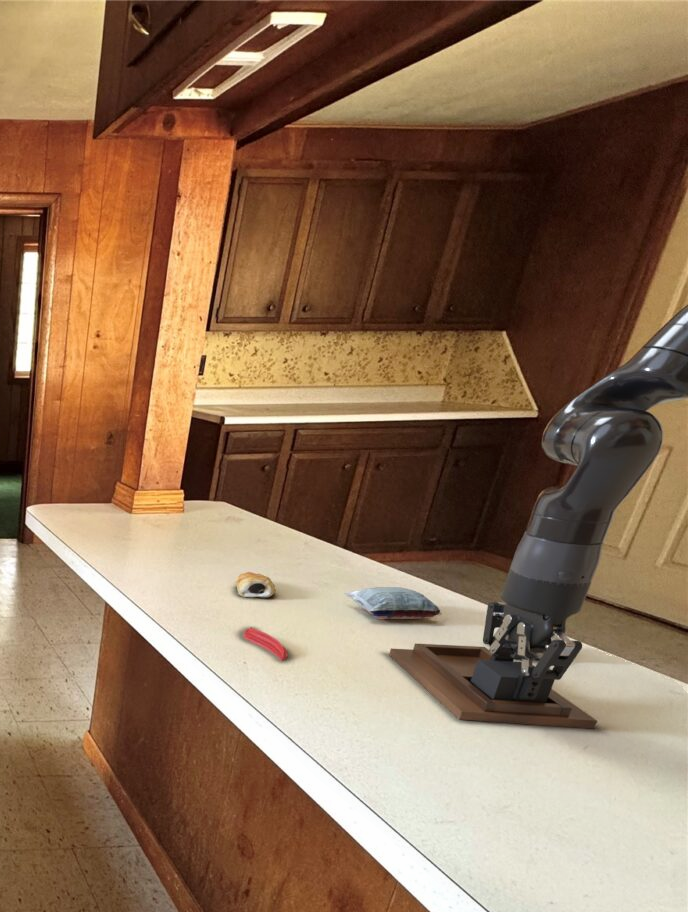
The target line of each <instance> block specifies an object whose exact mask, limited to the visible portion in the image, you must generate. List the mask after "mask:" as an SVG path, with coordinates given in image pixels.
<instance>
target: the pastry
mask: <svg viewBox="0 0 688 912" xmlns="http://www.w3.org/2000/svg"><path fill="white" fill-rule="evenodd" d="M235 586H236V587H237V589H236V591H237V594H238V595H239V596H241V597H243V598H270V597H272V596H273V595H274V594H275V592H276V585H275V584H274V582H273V581H272V580H271V578H270V577H269V576H266V575H264V574H261V573H255V572H251V571H248V572H243V573H240V574H239V576H238V577H237V579H236V580H235Z"/></svg>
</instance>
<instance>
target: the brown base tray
mask: <svg viewBox="0 0 688 912" xmlns="http://www.w3.org/2000/svg"><path fill="white" fill-rule="evenodd" d="M388 656H389V657H390V658H391V659H393V660H394V662H396V663H397V664H398V665H399V666H400V667H401V668H402V669H404V670H405V671H406V673H408V674H409V675H410V676H411V677H412V678H413V679H414V680H415V681H417V682H418V683H419V684H420V685H421V687H423V688H424V689H425V690H426V691H428V692H429V693H430V695H432V696H433V697H434V698H435V699H436V700H437V701H438V702H439V703H441V705H443V706H444V708H446V709H447V710H448V711H449V712H450V713H451V714H453V715H454V716H455V717H456V718H457V719H458V720H462V721H474V722H475V721H476V722H477V721H478V722H491V723H504V724H520V725H533V726H534V725H535V726H549V727H562V728H577V729H593V730H594V729H595V728H596V726H597V724H598V720H597V719H596V718H595V717H593V716H592V715H590V714H589V713H587V712H586V711H584V710H583V709H581V708H580V707H579V706H577V705H576V704H574V703H573V702H571V701H570V700H569V699H567V698H566V697H564V696H562V695H561V694H560V693H559V692H557V691H555V690H554V689H552V688H551V691H550V694H549V696H548V699H547V701H546V703H536V702H520V701H504V700H493V699H491V698H490V697H489V696H488V695H486V694H485V693H484V692H483V691H481V690H480V689H479V688H478V687H476V686H475V685H474V684H473V683H471V679H472V676H473V673H474V670H475V667H476V664H477V661H478V660H490V659H491V656H492V654H491V653H490V651H489V649H488V648H487V647H486V646H475V645H453V644H452V645H451V644H435V643H414V645H413V649H411V648H407V649H406V648H390V651H389V654H388Z"/></svg>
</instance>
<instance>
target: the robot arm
mask: <svg viewBox="0 0 688 912" xmlns="http://www.w3.org/2000/svg"><path fill="white" fill-rule="evenodd" d="M687 399H688V304H686V305H685V306H684V307H683V308H681V309H680V310H679V311H678V312H677V313H676V314H675V315H674V316H672V317H671V318H670V319H669V320H668V321H667V322H666V323H665V324H663V325H662V327H661V328H660V329H658V330H657V332H656V333H655V334H653V335H652V337H650V338H649V340H648V341H646V343H645V344H643V346H642V347H640V348H639V350H638V351H636V353H635V354H634V355H633V356H631V358H630V359H629V360H628V361H627V362H626V363H624V364H623V365H621V366H619V367H618V368H616V369H615V370H613V371H611V372H610V373H608V374H607V375H605V376H604V377H602V378H601V379H599V380H598V381H597V382H595V383H593V384H592V385H591V386H590V387H588V388H586V389H585V390H584V391H582V392H581V393H580V394H578V395H577V396H575V397H574V398H573V399H571V400H570V401H569V402H567V403H566V404H565V405H564V406H563V407H562V408H560V409H559V410H558V411H557V412H556V413H555V414H554V415H553V416H552V418H551V419H550V420H549V422H548V423H547V425H546V427H545V428H544V431H543V433H542V437H541V448H542V450H543V452H544V453H545V455H546V456H547V457H549V458H550V459H552V460H554V461H555V462H558V463H563V464H567V465H569V466H570V465H571V466H576V468H575V470H574V472H573V474H572V475H571V476H570V478H569V480H568V481H567V482H566V483H565V484H564V485H563V484H562V485H555V486H550V487H547V488H545V489H543V490H542V491H541V492H539V494H538V496H537V498H536V500H535V502H534V504H533V507H532V510H531V513H530V516H529V519H528V522H527V525H526V528H525V531H524V533H523V536H522V537H521V540H520V541H519V543H518V545H517V547H516V549H515V552H514V555H513V558H512V561H511V564H510V566H509V570H508V572H507V576H506V578H505V581H504V584H503V587H502V589H501V593H500V599H501V601H490V602H489V603H488V604H487V607H486V616H485V623H484V629H483V636H482V643H483V645H489V649H488V650H489V651H490V653H491V654H492V656H491V659H490V660H494V661H512V662H514V660H515V659H514V657H512V656H511V655H514V654H515V653H516V652H517V651H518V656H519V657H520V658H521V659H520V660H521V661H520V662H521V674H519V676H518V680H517V683H516V685H515V688H514V691H513V694H512V698H513V699H514V700H516V701H520V702H532V701H534V699H535V698H536V697H537V693H538V692H539V689H540V686H541V684H542V681H543V680H544V679H552V680H555V681H559V680H561V679H562V678H563V677H564V676H565V673H566V672H567V671H568V669H569V668H570V666H571V665H572V664H573V662H574V660H575V659H576V657H577V656H578V654H579V653H580V652H581V650H582V649H583V643H582V642H581V641H580V640H573V639H572V640H571V639H570V638H569V637H568V636H567V635H566V623H567V619H569V618H570V617H571V616H573V615H577V614H578V613H580V612H581V610H582V608H583V605H584V602H585V600H586V598H587V596H588V593H589V590H590V587H591V585H592V582H593V580H594V577H595V575H596V572H597V570H598V567H599V565H600V561H601V558H602V552H603V547H604V544H605V541H606V538H607V536H608V533H609V531H610V528H611V525H612V523H613V520H614V517H615V514H616V511H617V509H618V508H619V507H620V506H621V504H622V503H623V502H624V501H625V500H626V498H627V497H628V496H629V495H630V494H631V492H632V491H633V490H634V489H635V488H636V486H637V485H638V484H639V482H640V481H641V480H642V478H643V477H644V475H645V474H646V473H647V472H648V470H649V469H650V468H651V466H652V465H653V464H654V462H655V461H656V460H657V458H658V456H659V455H660V452H661V450H662V447H663V443H664V428H663V424H662V422H661V421H660V419H659V418H658V417H657V416H656V415H654V414H653V413H652V412H649V410H651V409H652V408H654V407H656V406H658V405H662V404H666V403H671V402H678V401H684V400H687ZM497 628H498V629H497ZM495 629H497V630H496V631H495ZM530 649H544V651H543V652H540V653H539V652H531V651H530ZM534 659H539V660H538V662H537V663H536V664H535V665H534V661H535V660H534ZM532 665H533V666H535V668H534V667H532ZM551 667H553V668H552V669H551Z"/></svg>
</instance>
